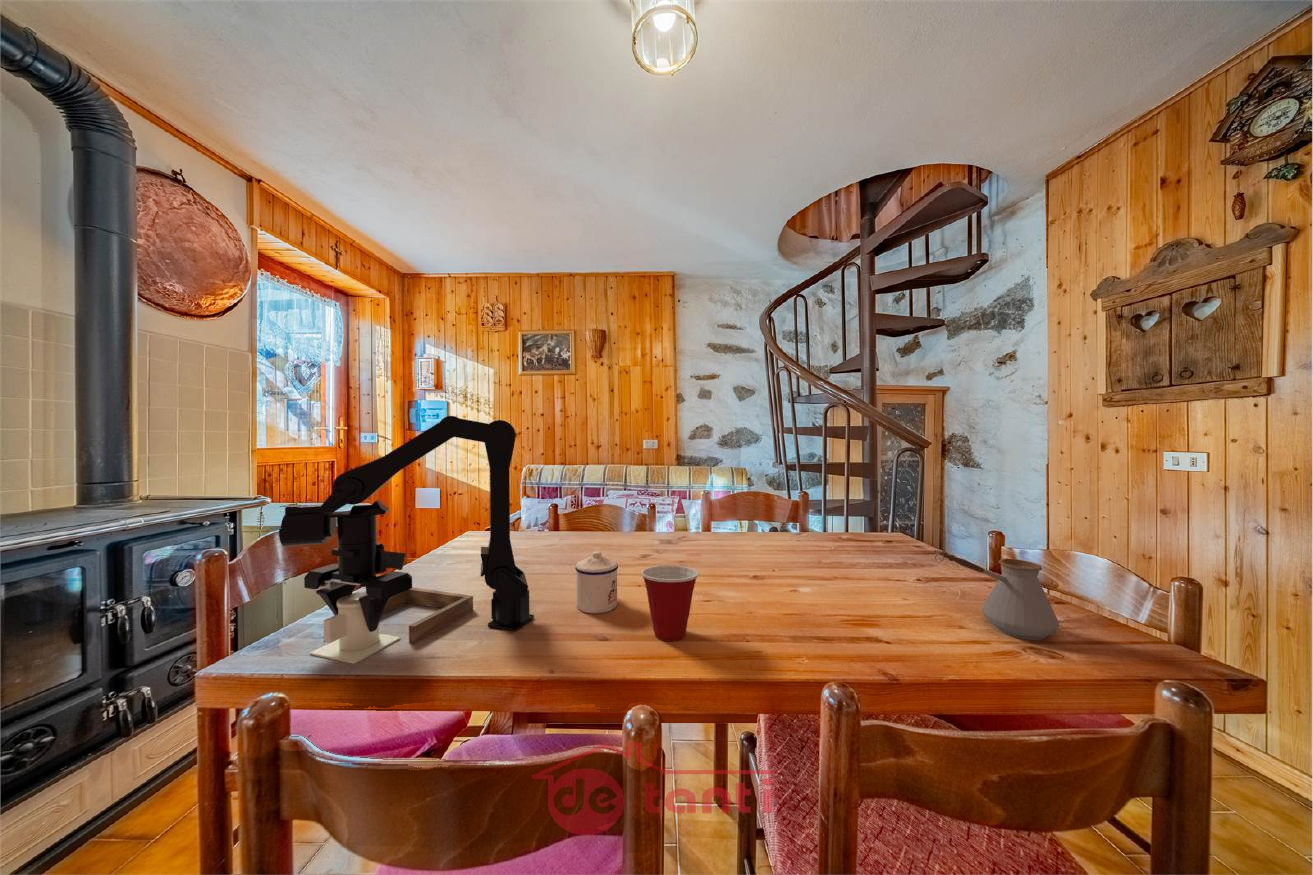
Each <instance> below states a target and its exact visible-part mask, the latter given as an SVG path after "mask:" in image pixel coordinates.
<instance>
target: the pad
mask: <svg viewBox="0 0 1313 875" xmlns="http://www.w3.org/2000/svg"><path fill="white" fill-rule="evenodd" d="M401 638H402V637H401V636H400V637H399V636H395V635H389V634H384V633H380V639H379V641H378V642H377V643H375V644H374V645H372V646H370V647H367V648H364V649H361V650H356V651H343V650H340V649H339V639H338V640H336V641H334V642H332V643H327V644H325V645H324V646H321V647H319V648H317V649H315V650H312V651H310V652H309V655H310V656H311V655H312V656H316V657H320V658H325V659H329V660H334V661H339V662H342V663H343V662H344V663H349V664H352V665H354V664H356V663H358V662H361V661H362V660H365V659H366V658H368V657H370V656H371V655H373V654H375V653H377V652H379V651H381V650H383V649H384V648H386V647H388V646H390V645H392V644H394V643H396V642H398V641H399V640H401Z"/></svg>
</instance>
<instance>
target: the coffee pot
mask: <svg viewBox="0 0 1313 875" xmlns="http://www.w3.org/2000/svg"><path fill="white" fill-rule="evenodd" d="M938 555H939V556H941V557H942V558H941V559H940V561H938V560H937V556H938ZM944 559H948V560H949V561H950V562H955V563H957V564H959V565H960V566H962V567H963V568H964V567H965V568H967V569H970V570H971V571H972V570H973V571H976V572H978V573H982V574H984V575H986V576H989V577H991V578H993V579H995V580H997V581H996V582H995V584H994V586H993V587H992V589H991V591H990V593H989V594H988V596H987V598H986V599H985V601H984V602H983V604H982V607H981V612H982V614H983V616H984V617H985V620H987V621H988V622H989V623H990V625H991V624H992V626H993V628H994V629H996V630H997V631H999V632H1000V633H1003V634H1005V635H1008V636H1009V637H1010V636H1011V637H1014V638H1018V639H1022V640H1029V641H1030V640H1033V641H1040V640H1044V639H1045V638H1046V637H1049V636H1052V635H1053V634H1055V633H1056V632H1057V630H1058V629H1059V627H1060V622H1059V619H1058V617H1057V615H1056V614H1055V611H1054V609H1053V607H1052V605H1051V603H1050V601H1049V599H1048V596H1047V595H1046V593H1045V591H1044V588H1043V586H1042V584H1041V581H1040V580H1039V578H1038V576H1039V573H1040V571H1042V570H1043V567H1042V565H1040V564H1038V563H1036V562H1032V561H1028V560H1023V559H1016V558H1001V559H999V560H998V563H999V564H1000V565H1001V568H1002V573H1001V574H997V573H994V572H992V571H990V570H987V569H985V568H983V567H981V566H979V565H976V564H974V563H973V562H971V561H968V560H966V559H964V558H959V557H956V556H955V555H954V554H948V553H947V552H943V551H940V552H937V553H936V554H935V556H934V561H935V562H937V563H942V562H943V561H944Z"/></svg>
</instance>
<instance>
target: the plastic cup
mask: <svg viewBox="0 0 1313 875" xmlns="http://www.w3.org/2000/svg"><path fill="white" fill-rule="evenodd" d="M699 574H700V572H699V571H698V570H697V569H695V568H693V567H688V566H683V565H654V566H649V567H646V568H643V569H642V570H641V571H640V575H641V576H642V578H643V581H644V585H645V589H646V594H647V601H648V608H649V611H650V612H649V613H650V618H651V620H652V621H651V622H652V629H653V632H654V633H653V634H654V636H655V637H656V638H657V639H658V640H661V641H664V642H665V641H666V642H675V641H676V642H677V641H680V640H681V639H683V638H685V636H686V632H687V627H688V622H689V617H690V613H691V608H692V607H691V605H692V601H693V599H692V598H693V594H694V589H695V584H696V580H697V578H698V576H699Z"/></svg>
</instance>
